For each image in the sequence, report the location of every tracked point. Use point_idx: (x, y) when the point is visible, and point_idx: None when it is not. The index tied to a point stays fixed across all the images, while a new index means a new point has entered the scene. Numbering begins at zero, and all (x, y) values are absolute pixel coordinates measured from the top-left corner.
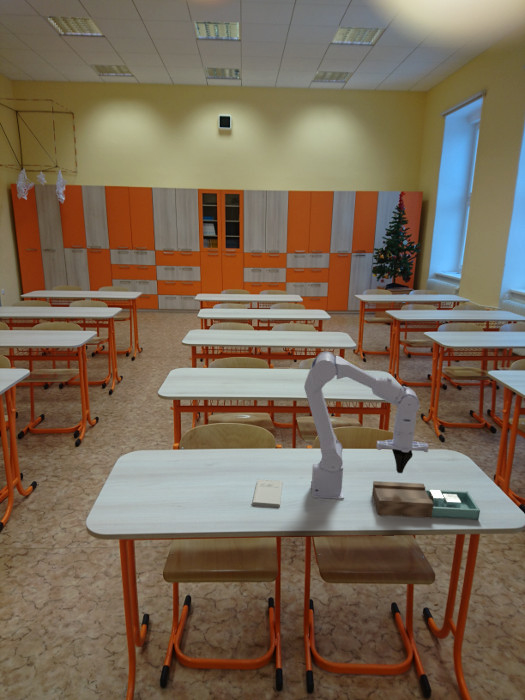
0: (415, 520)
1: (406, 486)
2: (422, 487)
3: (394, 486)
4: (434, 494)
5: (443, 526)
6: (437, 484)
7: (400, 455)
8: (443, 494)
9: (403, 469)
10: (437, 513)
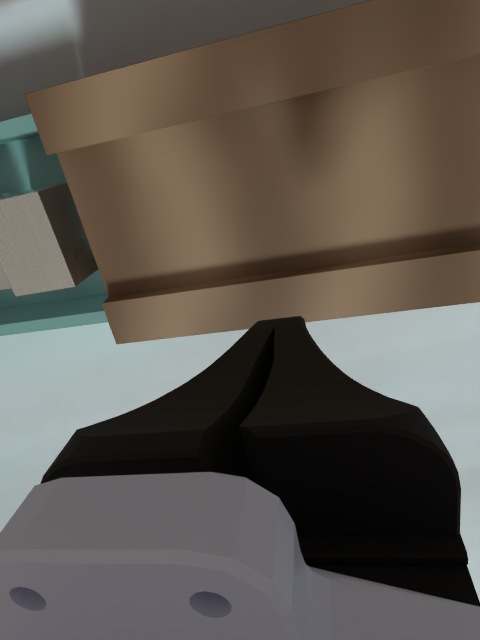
0: (181, 29)
1: (227, 285)
2: (119, 300)
3: (316, 271)
4: (38, 235)
5: (12, 19)
6: (85, 420)
7: (302, 429)
8: (5, 279)
9: (243, 335)
10: None
